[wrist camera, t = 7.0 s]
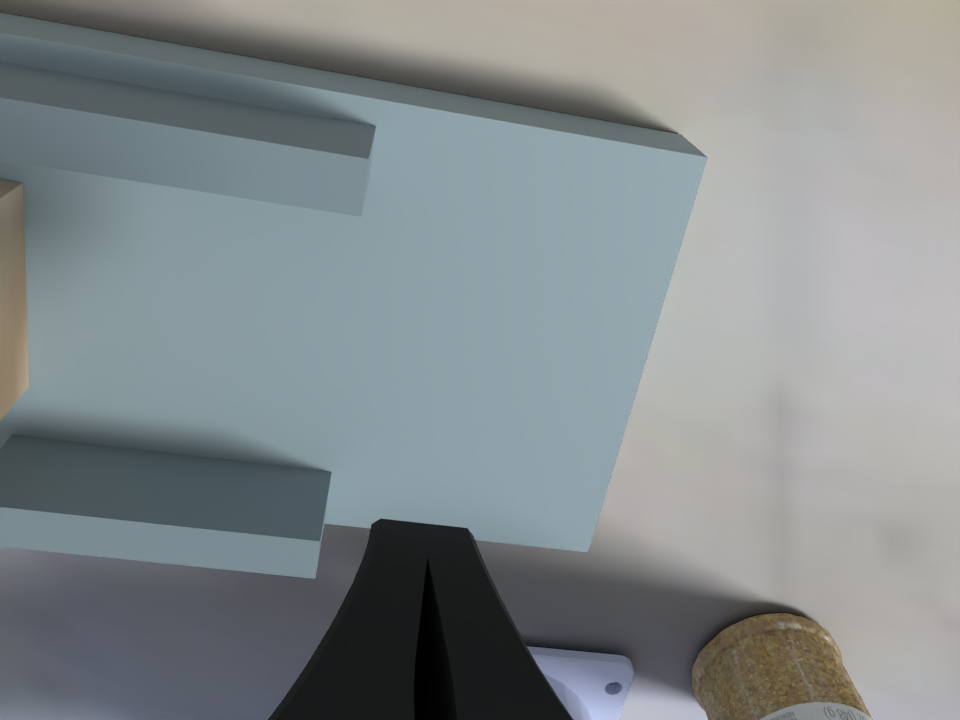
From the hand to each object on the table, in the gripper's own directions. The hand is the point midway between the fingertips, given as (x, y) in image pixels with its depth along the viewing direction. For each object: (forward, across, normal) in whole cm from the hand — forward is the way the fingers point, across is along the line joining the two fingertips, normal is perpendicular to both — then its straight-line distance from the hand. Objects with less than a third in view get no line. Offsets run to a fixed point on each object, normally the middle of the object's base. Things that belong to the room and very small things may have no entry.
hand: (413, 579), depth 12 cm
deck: (+9, +8, 0) cm, 12 cm away
